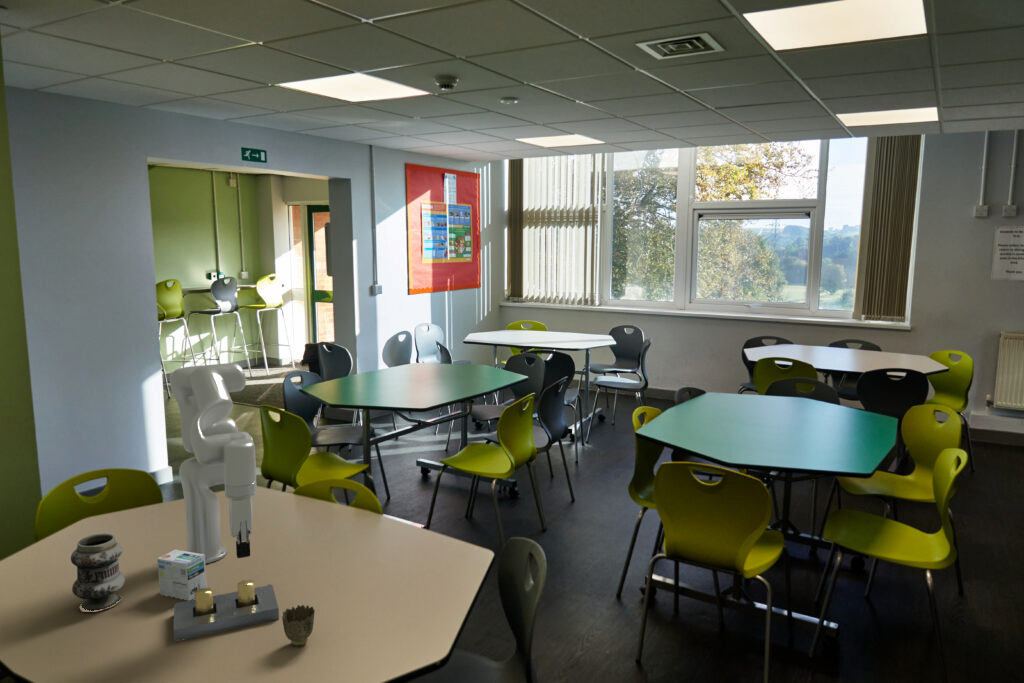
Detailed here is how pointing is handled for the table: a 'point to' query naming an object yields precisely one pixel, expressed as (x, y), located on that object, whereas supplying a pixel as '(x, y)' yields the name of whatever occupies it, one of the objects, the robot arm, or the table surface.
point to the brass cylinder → (246, 593)
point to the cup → (298, 624)
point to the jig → (224, 614)
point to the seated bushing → (204, 602)
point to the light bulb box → (181, 574)
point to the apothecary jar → (97, 571)
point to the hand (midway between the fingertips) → (243, 555)
